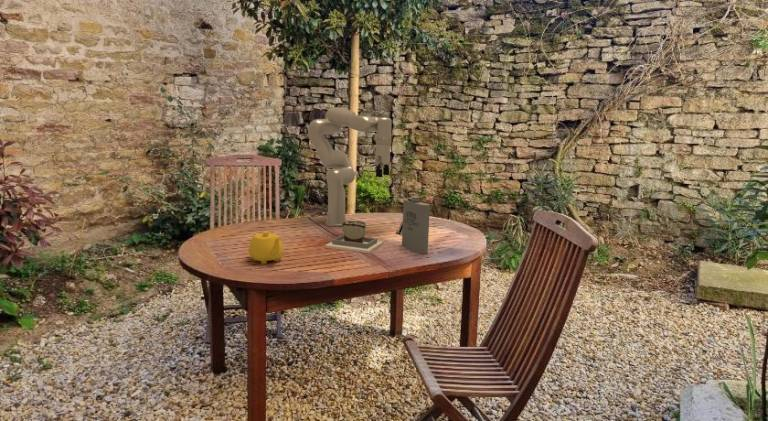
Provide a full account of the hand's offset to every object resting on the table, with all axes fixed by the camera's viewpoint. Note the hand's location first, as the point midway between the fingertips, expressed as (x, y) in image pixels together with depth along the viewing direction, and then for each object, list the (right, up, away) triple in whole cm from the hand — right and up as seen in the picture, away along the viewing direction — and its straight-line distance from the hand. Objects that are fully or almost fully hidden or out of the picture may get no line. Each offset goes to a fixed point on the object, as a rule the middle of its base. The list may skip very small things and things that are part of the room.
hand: (382, 175), depth 257 cm
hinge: (+15, -30, +9) cm, 35 cm away
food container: (-13, -33, -18) cm, 40 cm away
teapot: (-48, -39, -47) cm, 78 cm away
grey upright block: (+15, -36, -23) cm, 45 cm away
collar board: (-13, -34, -20) cm, 42 cm away
